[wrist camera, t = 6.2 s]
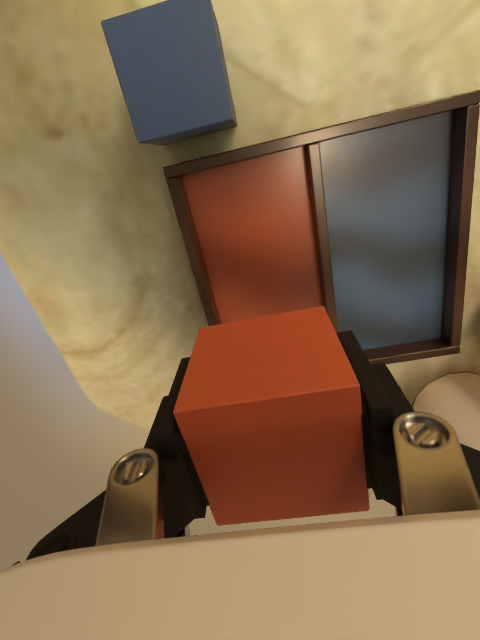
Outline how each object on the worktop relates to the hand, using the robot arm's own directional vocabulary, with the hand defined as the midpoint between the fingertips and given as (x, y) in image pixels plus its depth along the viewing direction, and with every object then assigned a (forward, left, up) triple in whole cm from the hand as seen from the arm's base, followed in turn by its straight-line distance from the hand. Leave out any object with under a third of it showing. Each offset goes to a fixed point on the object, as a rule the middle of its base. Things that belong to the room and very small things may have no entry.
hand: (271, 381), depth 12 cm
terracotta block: (0, 0, -1) cm, 1 cm away
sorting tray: (0, +4, -12) cm, 13 cm away
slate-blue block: (-11, -2, -12) cm, 16 cm away
